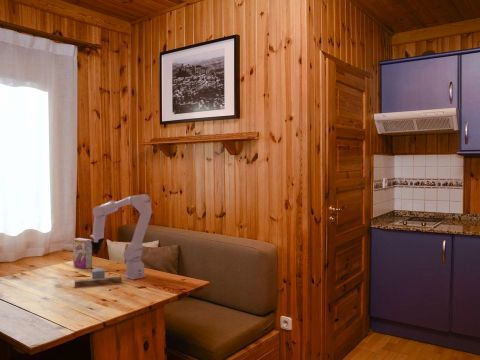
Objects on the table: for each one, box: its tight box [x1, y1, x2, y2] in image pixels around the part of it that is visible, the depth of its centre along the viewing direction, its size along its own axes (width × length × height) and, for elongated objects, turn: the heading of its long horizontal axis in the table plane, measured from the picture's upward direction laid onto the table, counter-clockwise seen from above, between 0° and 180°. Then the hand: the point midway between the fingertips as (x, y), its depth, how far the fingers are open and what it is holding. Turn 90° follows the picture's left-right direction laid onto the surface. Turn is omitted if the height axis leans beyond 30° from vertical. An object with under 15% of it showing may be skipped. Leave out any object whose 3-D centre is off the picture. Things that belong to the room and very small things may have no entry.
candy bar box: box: [72, 237, 93, 270], centre depth 246 cm, size 11×5×16 cm, turn 58°
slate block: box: [91, 267, 106, 279], centre depth 220 cm, size 6×6×5 cm
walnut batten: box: [74, 276, 123, 288], centre depth 211 cm, size 22×3×2 cm, turn 108°
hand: (96, 252), depth 231 cm, fingers open, 7 cm apart
